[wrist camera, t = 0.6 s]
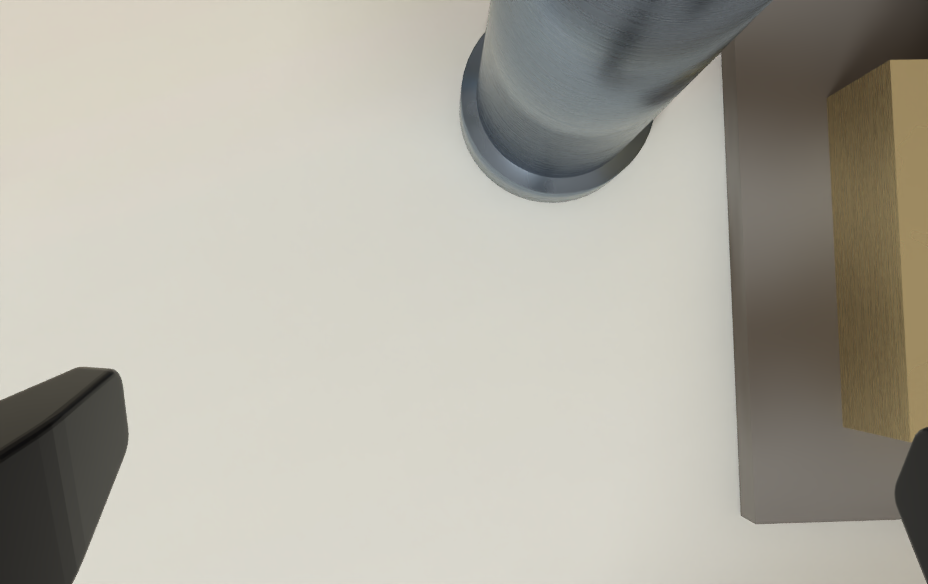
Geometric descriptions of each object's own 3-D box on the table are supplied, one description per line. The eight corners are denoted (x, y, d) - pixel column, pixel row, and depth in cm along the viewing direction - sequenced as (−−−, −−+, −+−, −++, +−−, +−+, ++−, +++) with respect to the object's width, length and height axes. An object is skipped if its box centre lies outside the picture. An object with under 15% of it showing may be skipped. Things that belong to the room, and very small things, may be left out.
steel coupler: (644, 201, 22) (938, 12, 9) (461, 204, 22) (498, 15, 9) (637, 22, 22) (914, -407, 9) (457, 23, 22) (486, -412, 9)
